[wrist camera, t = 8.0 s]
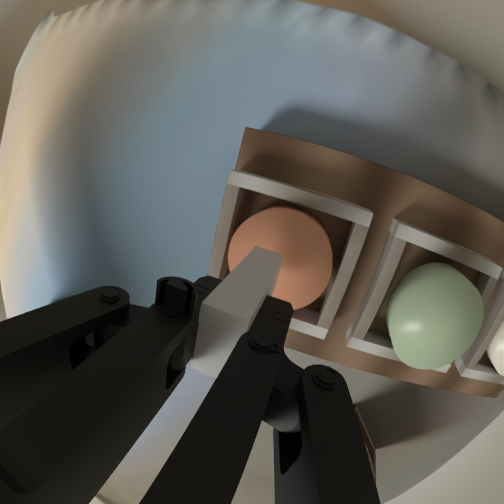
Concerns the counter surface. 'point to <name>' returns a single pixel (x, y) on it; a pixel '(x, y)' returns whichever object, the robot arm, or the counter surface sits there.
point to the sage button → (433, 316)
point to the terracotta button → (288, 250)
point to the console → (369, 252)
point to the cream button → (497, 350)
